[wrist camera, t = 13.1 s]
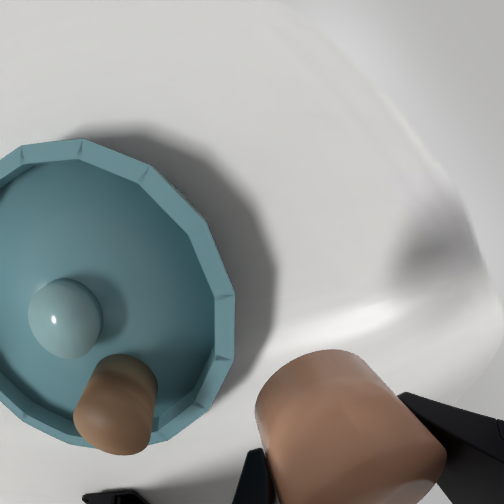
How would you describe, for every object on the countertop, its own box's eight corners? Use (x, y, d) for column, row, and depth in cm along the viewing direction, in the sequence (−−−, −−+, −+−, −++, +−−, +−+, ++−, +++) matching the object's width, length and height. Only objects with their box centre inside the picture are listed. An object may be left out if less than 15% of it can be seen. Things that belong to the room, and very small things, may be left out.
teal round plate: (273, 380, 20) (282, 402, 18) (53, 442, 19) (44, 462, 17) (157, 91, 16) (151, 77, 13) (-64, 228, 14) (-85, 233, 12)
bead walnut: (122, 416, 18) (110, 462, 14) (81, 370, 17) (58, 413, 13) (171, 392, 18) (166, 441, 14) (129, 342, 17) (112, 386, 13)
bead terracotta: (375, 420, 10) (434, 499, 6) (270, 459, 10) (301, 556, 6) (368, 330, 10) (458, 409, 5) (239, 375, 9) (269, 494, 5)
